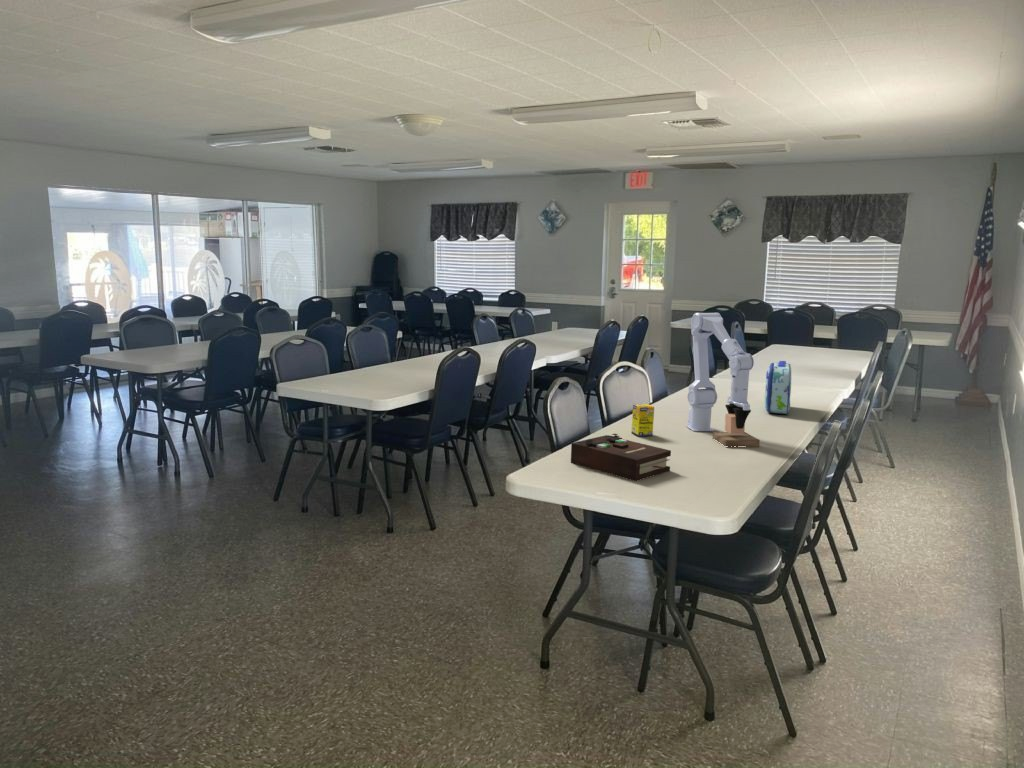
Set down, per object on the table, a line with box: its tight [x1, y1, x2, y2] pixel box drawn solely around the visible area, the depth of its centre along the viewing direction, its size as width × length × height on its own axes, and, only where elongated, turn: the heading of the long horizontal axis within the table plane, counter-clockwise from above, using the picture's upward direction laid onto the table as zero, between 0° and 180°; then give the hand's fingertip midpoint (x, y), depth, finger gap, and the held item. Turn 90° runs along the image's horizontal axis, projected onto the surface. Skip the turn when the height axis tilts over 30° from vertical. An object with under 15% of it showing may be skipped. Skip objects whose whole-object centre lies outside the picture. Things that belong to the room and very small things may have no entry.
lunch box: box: [764, 360, 792, 415], centre depth 324 cm, size 26×11×21 cm, turn 160°
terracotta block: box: [724, 413, 746, 434], centre depth 265 cm, size 5×5×6 cm
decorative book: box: [570, 433, 672, 482], centre depth 232 cm, size 19×8×30 cm
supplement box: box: [631, 403, 655, 438], centre depth 274 cm, size 6×6×11 cm
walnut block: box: [712, 431, 760, 448], centre depth 266 cm, size 12×12×3 cm
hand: (736, 426), depth 265 cm, fingers closed on terracotta block, 5 cm apart
